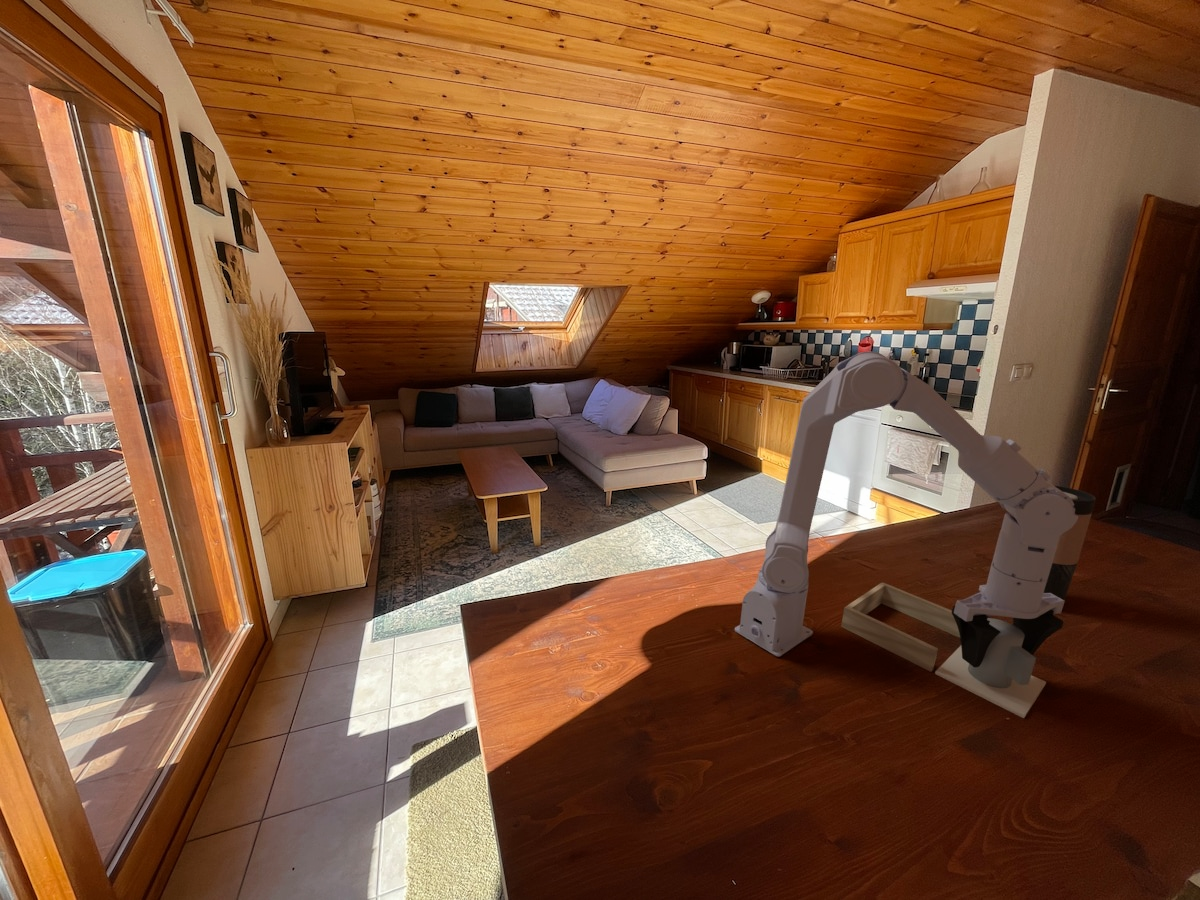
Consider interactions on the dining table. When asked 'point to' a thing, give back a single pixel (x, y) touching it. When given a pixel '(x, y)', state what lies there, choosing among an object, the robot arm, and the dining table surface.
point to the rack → (893, 637)
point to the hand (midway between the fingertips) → (994, 659)
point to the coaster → (1009, 698)
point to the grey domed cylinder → (1005, 658)
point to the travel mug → (1070, 544)
